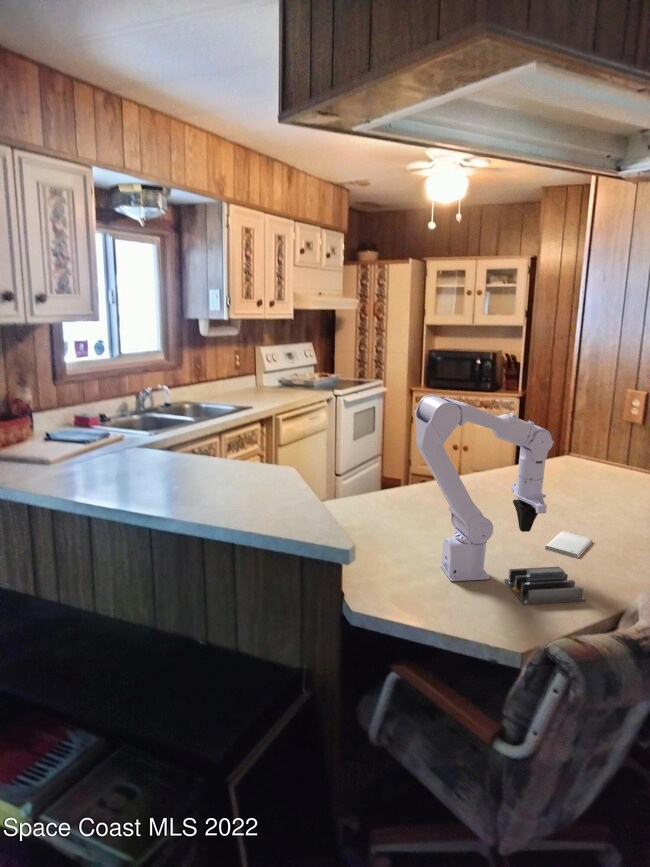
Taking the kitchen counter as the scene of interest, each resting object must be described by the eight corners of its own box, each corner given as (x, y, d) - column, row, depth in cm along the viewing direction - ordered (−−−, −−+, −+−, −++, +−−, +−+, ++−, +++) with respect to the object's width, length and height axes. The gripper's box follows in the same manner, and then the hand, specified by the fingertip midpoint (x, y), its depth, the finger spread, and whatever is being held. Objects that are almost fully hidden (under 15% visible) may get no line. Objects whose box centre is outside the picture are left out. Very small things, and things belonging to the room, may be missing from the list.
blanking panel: (558, 586, 137) (561, 568, 136) (562, 589, 135) (564, 571, 134) (525, 588, 136) (527, 569, 135) (528, 591, 134) (530, 573, 133)
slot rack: (524, 604, 130) (525, 592, 129) (504, 581, 140) (505, 569, 139) (585, 601, 132) (587, 588, 131) (561, 578, 142) (563, 566, 141)
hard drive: (577, 554, 151) (592, 538, 161) (545, 545, 156) (561, 530, 166) (577, 560, 152) (592, 543, 161) (544, 551, 157) (560, 535, 166)
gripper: (562, 486, 134) (555, 542, 138) (533, 466, 148) (527, 517, 152) (531, 487, 134) (525, 544, 137) (505, 466, 148) (500, 518, 151)
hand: (524, 530), depth 144 cm, fingers closed
